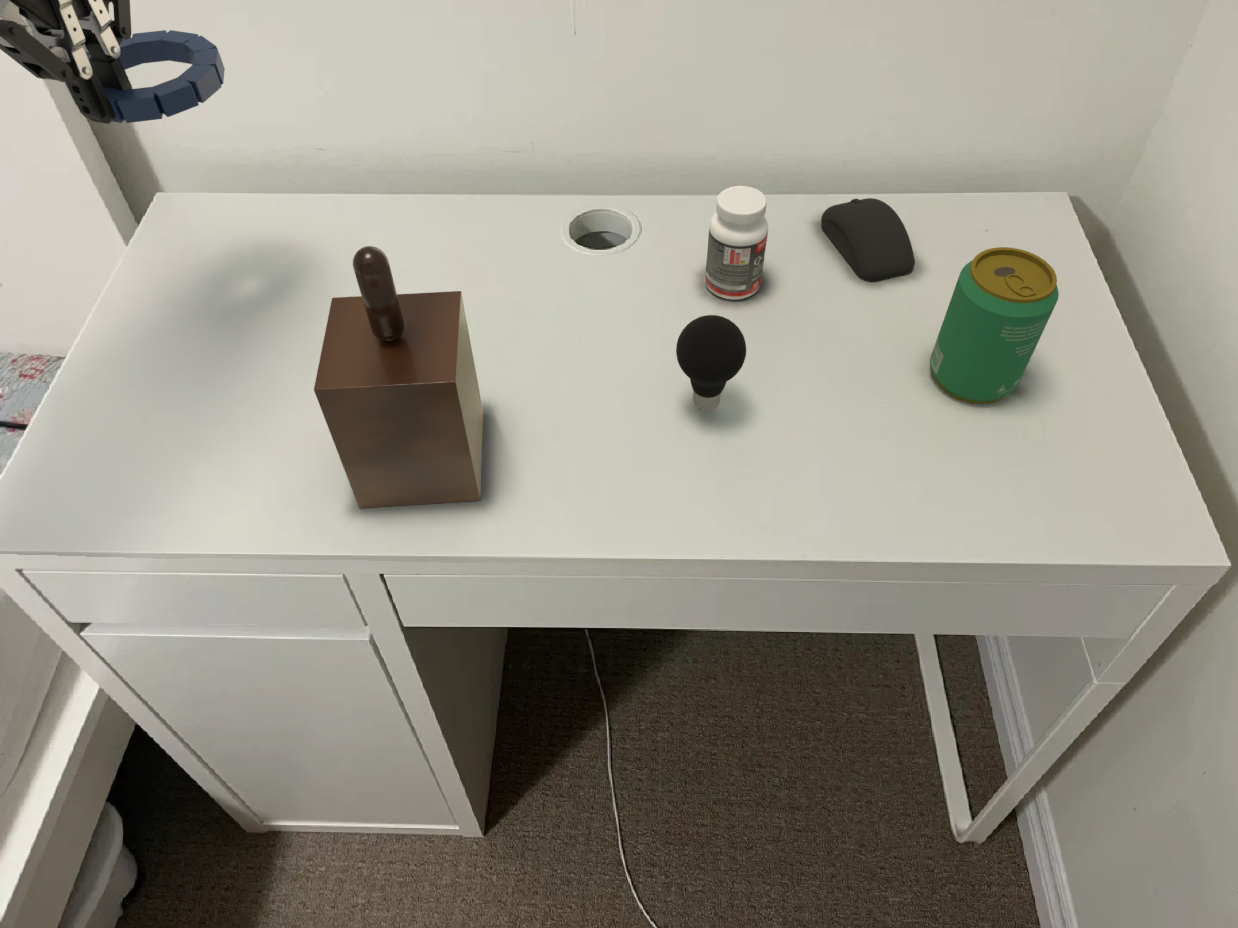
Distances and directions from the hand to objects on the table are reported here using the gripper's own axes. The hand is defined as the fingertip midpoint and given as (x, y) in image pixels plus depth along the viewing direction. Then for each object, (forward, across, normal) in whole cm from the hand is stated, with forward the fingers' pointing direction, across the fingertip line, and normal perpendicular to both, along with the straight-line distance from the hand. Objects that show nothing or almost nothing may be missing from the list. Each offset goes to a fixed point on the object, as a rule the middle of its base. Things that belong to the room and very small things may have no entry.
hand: (112, 111), depth 72 cm
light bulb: (+23, -3, +49) cm, 54 cm away
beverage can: (+23, -14, +71) cm, 76 cm away
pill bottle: (+23, -21, +47) cm, 57 cm away
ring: (0, -5, 0) cm, 5 cm away
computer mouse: (+23, -31, +60) cm, 71 cm away
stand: (+23, +9, +27) cm, 36 cm away
